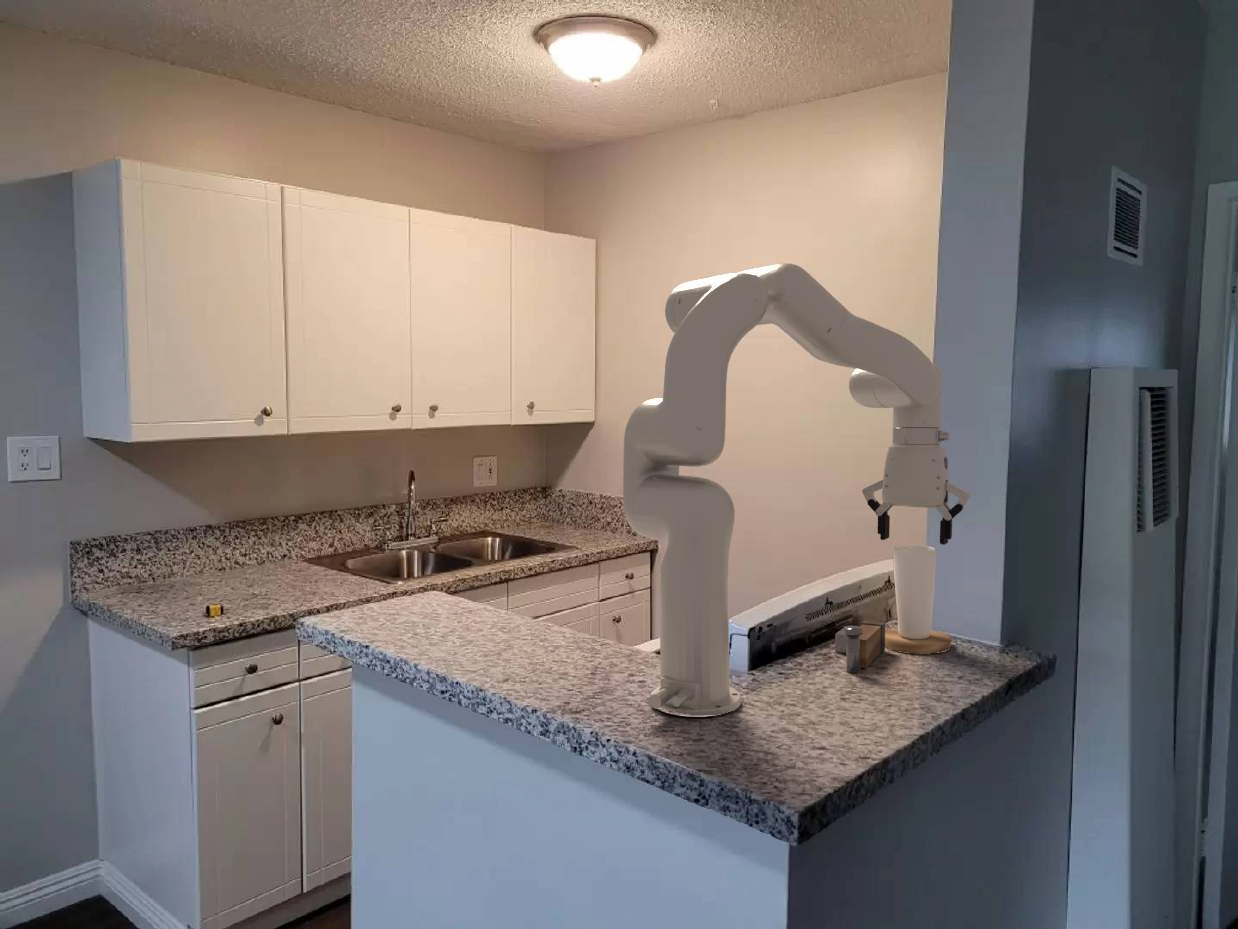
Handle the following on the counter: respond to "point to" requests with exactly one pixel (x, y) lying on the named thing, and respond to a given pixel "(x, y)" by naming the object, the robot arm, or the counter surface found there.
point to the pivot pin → (853, 648)
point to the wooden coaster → (917, 642)
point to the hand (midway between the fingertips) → (913, 541)
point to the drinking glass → (914, 589)
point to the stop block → (840, 641)
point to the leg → (871, 641)
